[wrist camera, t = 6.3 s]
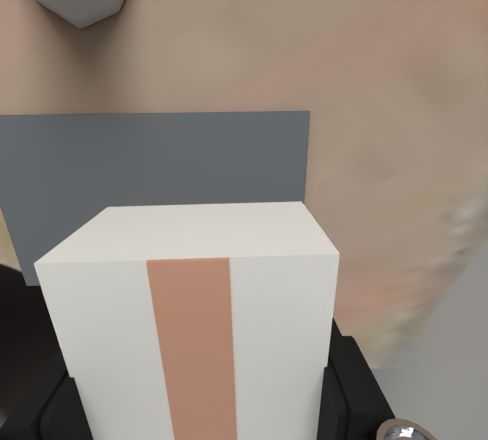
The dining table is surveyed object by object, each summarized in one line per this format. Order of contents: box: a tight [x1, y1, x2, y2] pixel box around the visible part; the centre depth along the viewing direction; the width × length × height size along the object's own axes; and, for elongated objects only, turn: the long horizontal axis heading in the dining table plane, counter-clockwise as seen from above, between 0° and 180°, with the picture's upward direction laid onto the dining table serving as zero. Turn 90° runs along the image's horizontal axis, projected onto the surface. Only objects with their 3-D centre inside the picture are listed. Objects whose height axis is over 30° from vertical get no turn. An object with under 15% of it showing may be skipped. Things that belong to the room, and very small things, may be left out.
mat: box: [0, 111, 310, 286], centre depth 23 cm, size 24×14×1 cm, turn 91°
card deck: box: [34, 201, 340, 440], centre depth 9 cm, size 9×6×4 cm, turn 1°
